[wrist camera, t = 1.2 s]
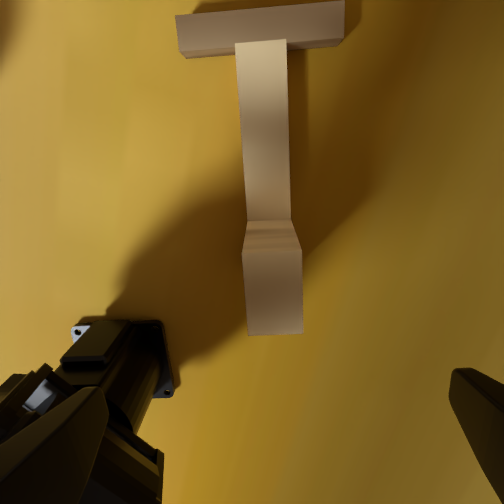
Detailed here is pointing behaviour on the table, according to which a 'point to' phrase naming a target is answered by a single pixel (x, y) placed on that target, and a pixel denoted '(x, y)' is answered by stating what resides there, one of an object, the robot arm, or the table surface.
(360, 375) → the table surface
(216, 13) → the birch pusher
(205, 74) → the table surface
